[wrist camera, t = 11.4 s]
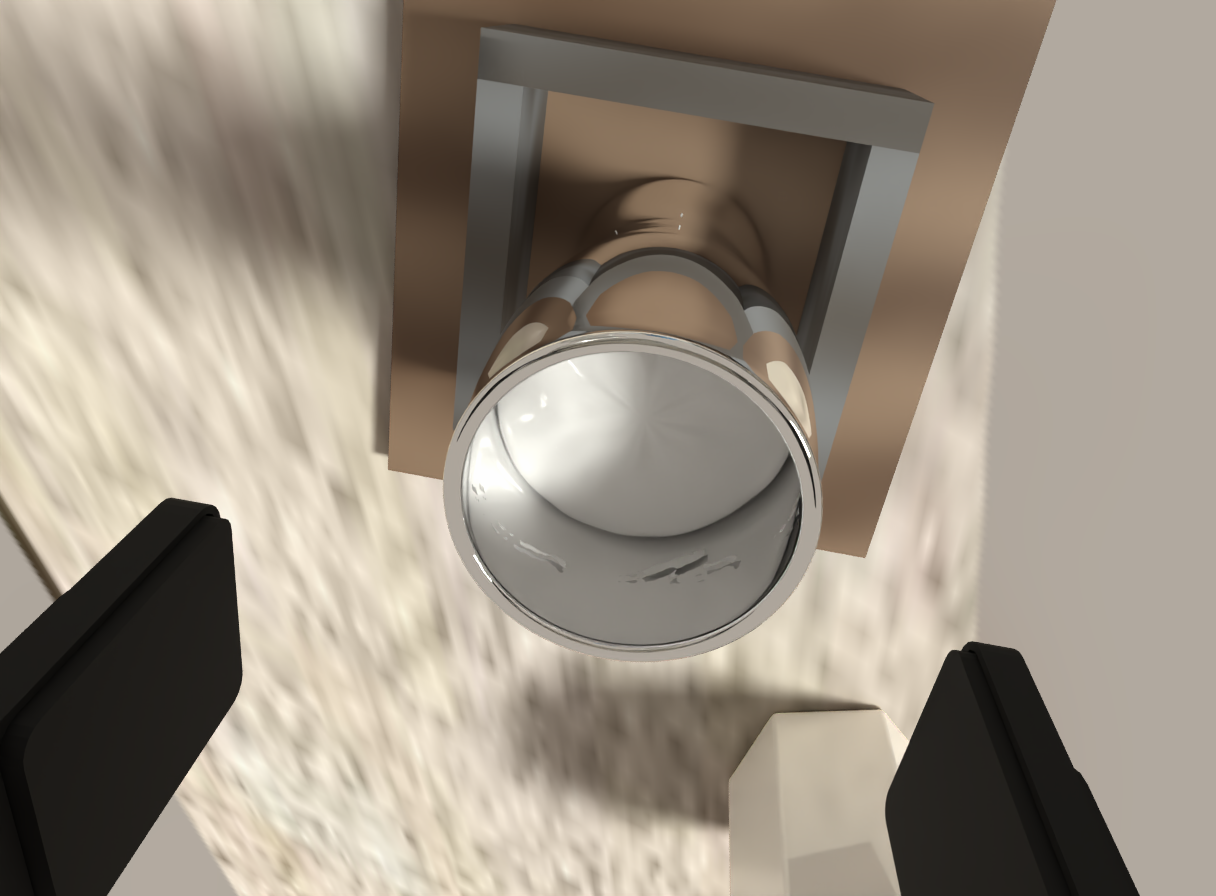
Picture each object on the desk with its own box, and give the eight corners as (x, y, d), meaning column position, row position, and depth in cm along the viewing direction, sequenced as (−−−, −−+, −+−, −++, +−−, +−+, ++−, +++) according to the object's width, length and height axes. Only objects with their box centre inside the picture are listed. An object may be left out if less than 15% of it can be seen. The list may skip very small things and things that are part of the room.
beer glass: (821, 300, 28) (914, 566, 15) (646, 411, 31) (591, 724, 17) (698, 114, 26) (678, 229, 13) (520, 249, 29) (348, 465, 15)
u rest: (420, -166, 25) (354, -203, 20) (1064, -63, 24) (1143, -77, 20) (396, 457, 34) (347, 526, 29) (861, 543, 33) (883, 626, 29)
